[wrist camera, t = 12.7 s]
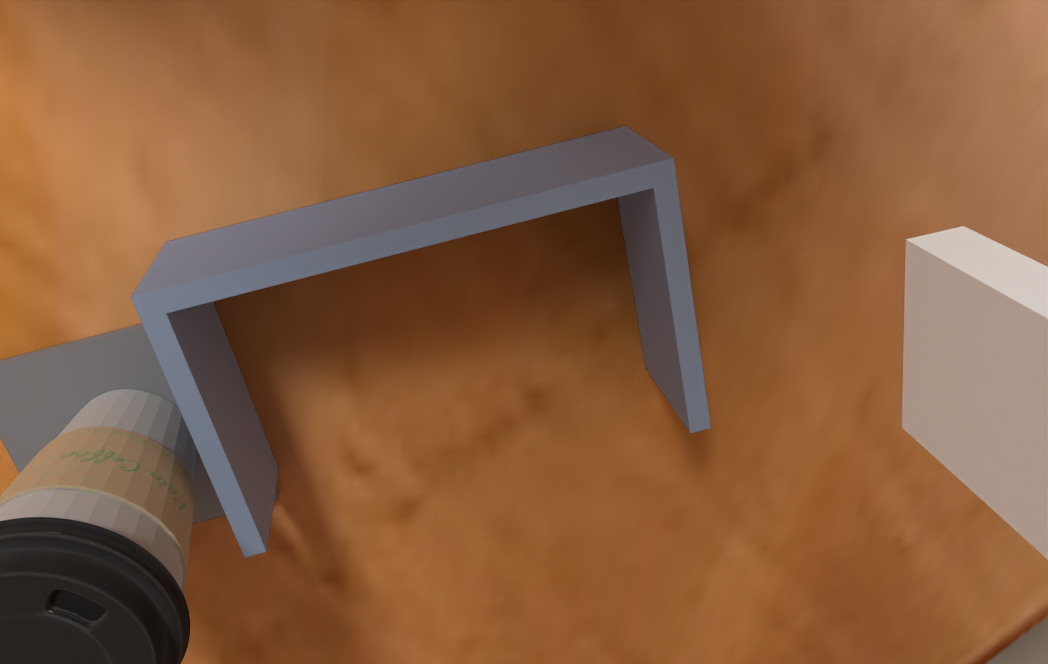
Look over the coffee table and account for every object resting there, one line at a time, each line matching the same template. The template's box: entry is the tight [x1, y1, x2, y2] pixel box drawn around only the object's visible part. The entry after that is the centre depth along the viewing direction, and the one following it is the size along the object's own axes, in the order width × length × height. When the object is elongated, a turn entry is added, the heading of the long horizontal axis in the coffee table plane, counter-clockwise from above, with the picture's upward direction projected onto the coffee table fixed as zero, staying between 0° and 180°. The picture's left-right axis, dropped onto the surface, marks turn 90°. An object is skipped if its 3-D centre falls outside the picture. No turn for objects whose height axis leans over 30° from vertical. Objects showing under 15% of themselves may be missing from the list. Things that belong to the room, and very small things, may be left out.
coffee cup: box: [0, 389, 197, 664], centre depth 37 cm, size 9×9×15 cm
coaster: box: [0, 324, 279, 524], centre depth 44 cm, size 11×11×1 cm
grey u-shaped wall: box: [131, 126, 711, 558], centre depth 41 cm, size 13×22×7 cm, turn 102°
